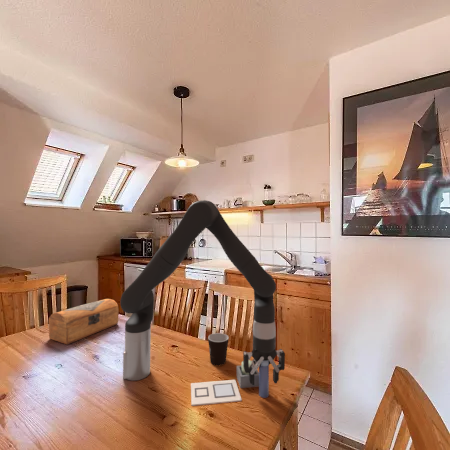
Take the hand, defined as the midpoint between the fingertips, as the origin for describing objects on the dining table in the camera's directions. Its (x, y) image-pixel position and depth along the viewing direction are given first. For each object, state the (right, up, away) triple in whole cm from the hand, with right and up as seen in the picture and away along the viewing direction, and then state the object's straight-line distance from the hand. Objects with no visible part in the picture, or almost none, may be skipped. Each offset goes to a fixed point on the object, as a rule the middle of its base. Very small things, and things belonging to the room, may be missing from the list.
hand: (263, 382), depth 85 cm
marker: (0, -4, 0) cm, 4 cm away
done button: (-5, -2, +7) cm, 9 cm away
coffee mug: (-16, -4, +22) cm, 28 cm away
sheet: (-16, -4, +1) cm, 17 cm away
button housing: (-5, -4, +7) cm, 10 cm away
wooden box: (-87, -4, +51) cm, 101 cm away
